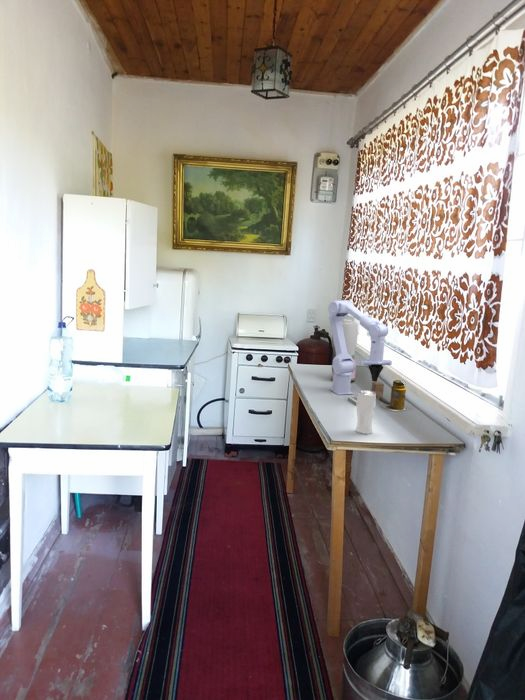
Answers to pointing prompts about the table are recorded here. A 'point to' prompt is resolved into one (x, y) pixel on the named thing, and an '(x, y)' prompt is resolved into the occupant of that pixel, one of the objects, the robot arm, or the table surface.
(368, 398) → the beer glass
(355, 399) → the panel
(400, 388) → the condiment
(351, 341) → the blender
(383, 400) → the dark gray rod
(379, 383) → the walnut block
